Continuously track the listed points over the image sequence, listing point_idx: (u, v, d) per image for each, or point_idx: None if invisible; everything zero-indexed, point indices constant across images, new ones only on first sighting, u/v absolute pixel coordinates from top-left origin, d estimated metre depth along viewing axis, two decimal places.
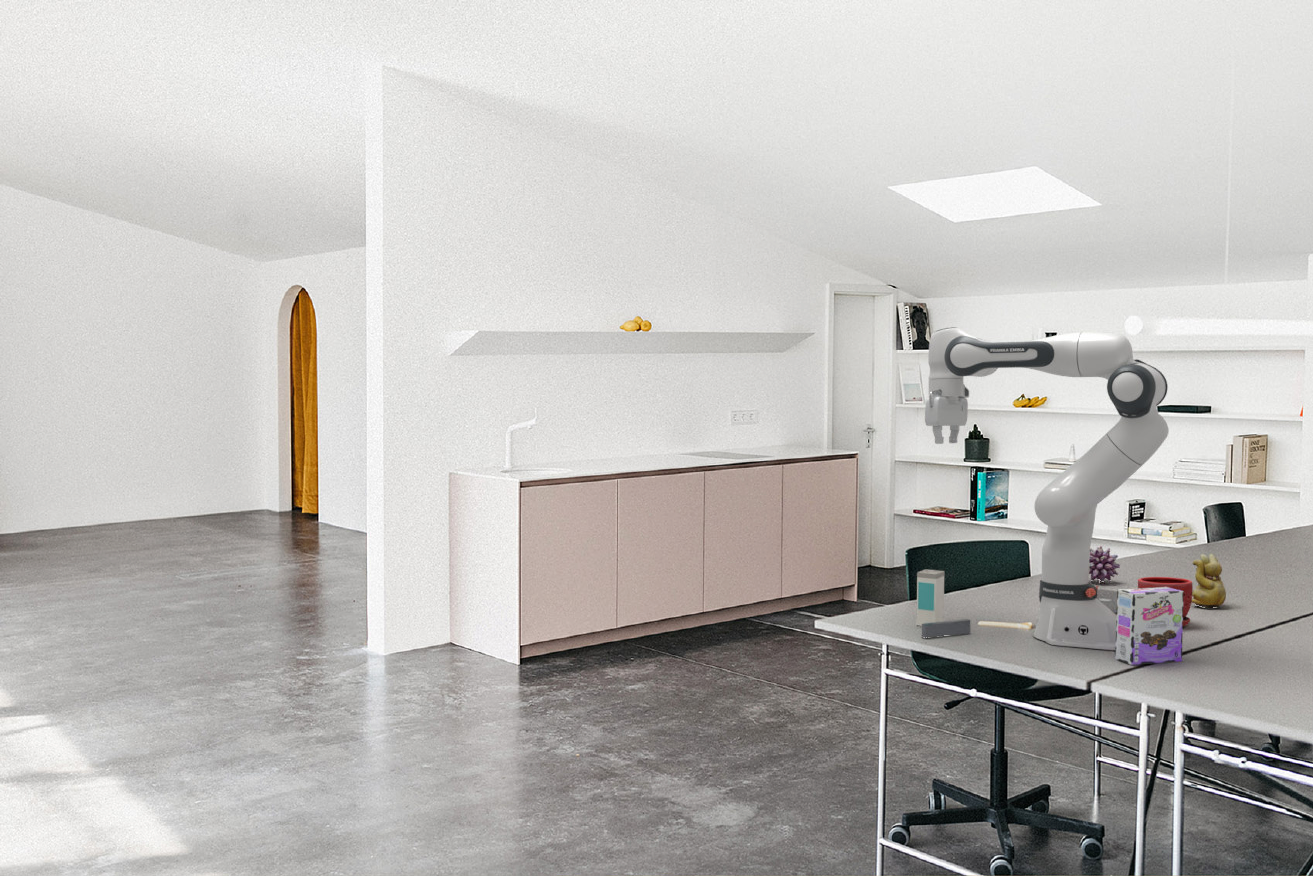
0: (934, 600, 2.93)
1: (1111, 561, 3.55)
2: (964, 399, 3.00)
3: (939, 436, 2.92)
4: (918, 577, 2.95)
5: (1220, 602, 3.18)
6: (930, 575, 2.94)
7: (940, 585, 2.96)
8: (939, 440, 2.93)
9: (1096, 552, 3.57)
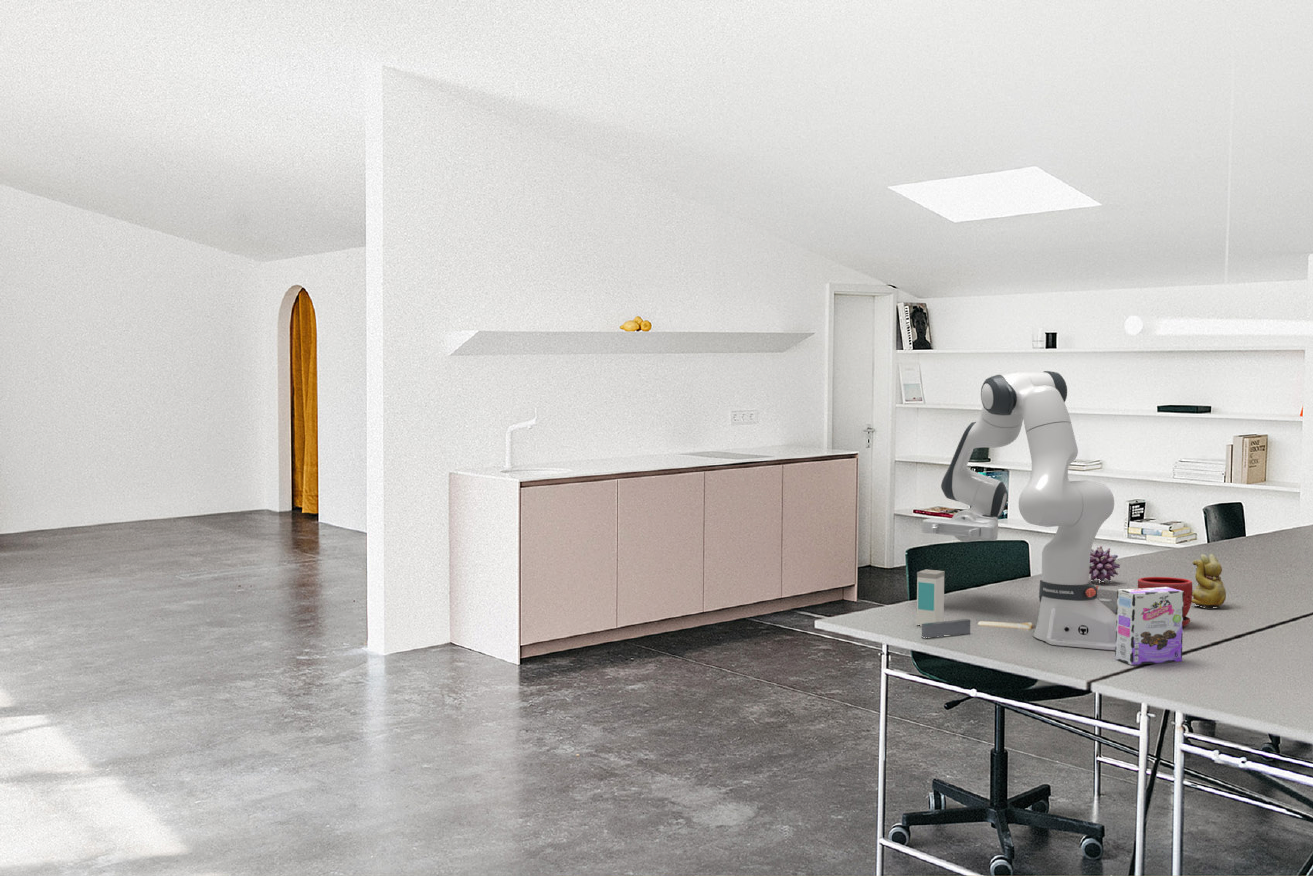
0: (934, 600, 2.93)
1: (1111, 561, 3.55)
2: (985, 518, 3.15)
3: None
4: (918, 577, 2.95)
5: (1220, 602, 3.18)
6: (930, 575, 2.94)
7: (940, 585, 2.96)
8: None
9: (1096, 552, 3.57)
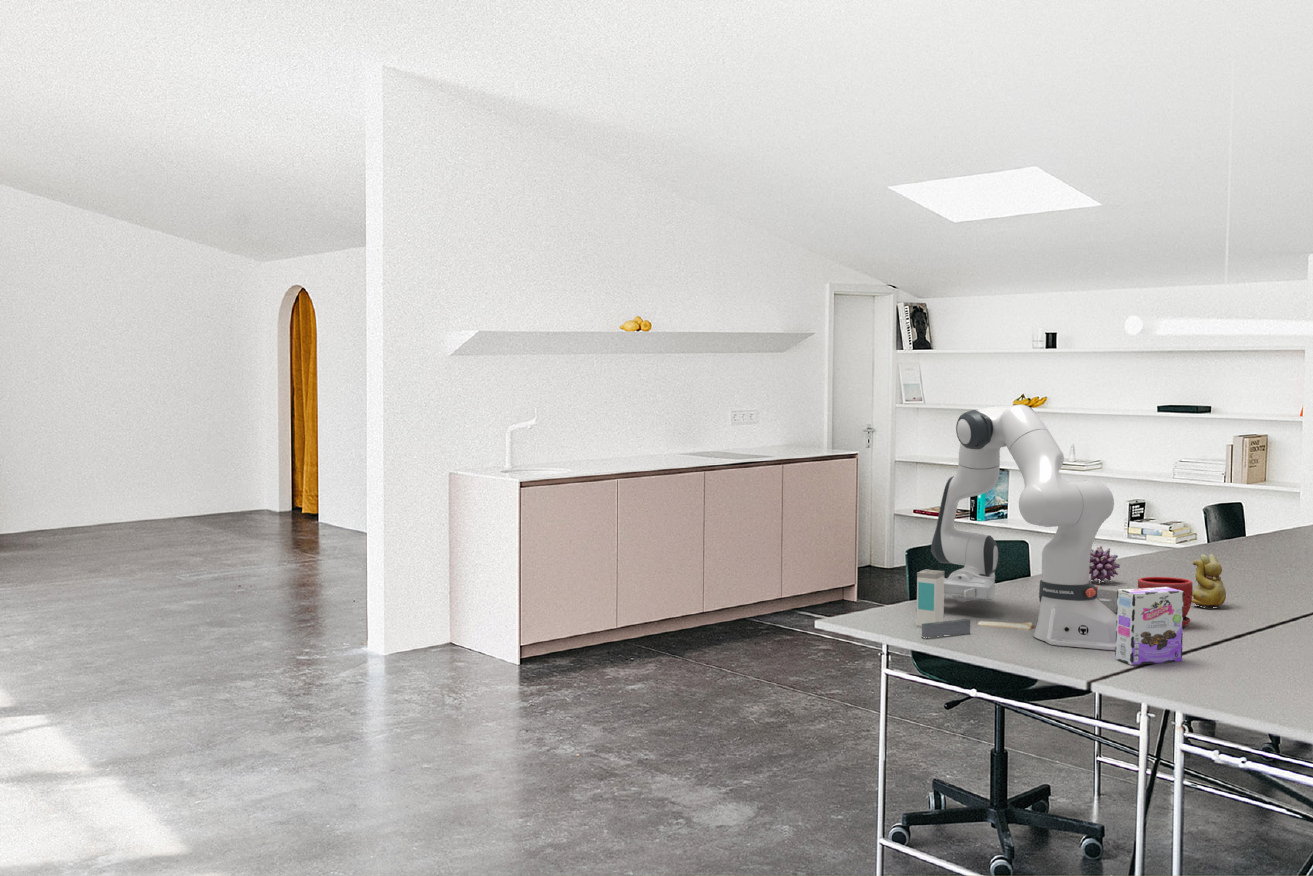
0: (934, 600, 2.93)
1: (1111, 561, 3.55)
2: (982, 578, 3.12)
3: None
4: (918, 577, 2.95)
5: (1220, 602, 3.18)
6: (930, 575, 2.94)
7: (940, 585, 2.96)
8: None
9: (1096, 552, 3.57)
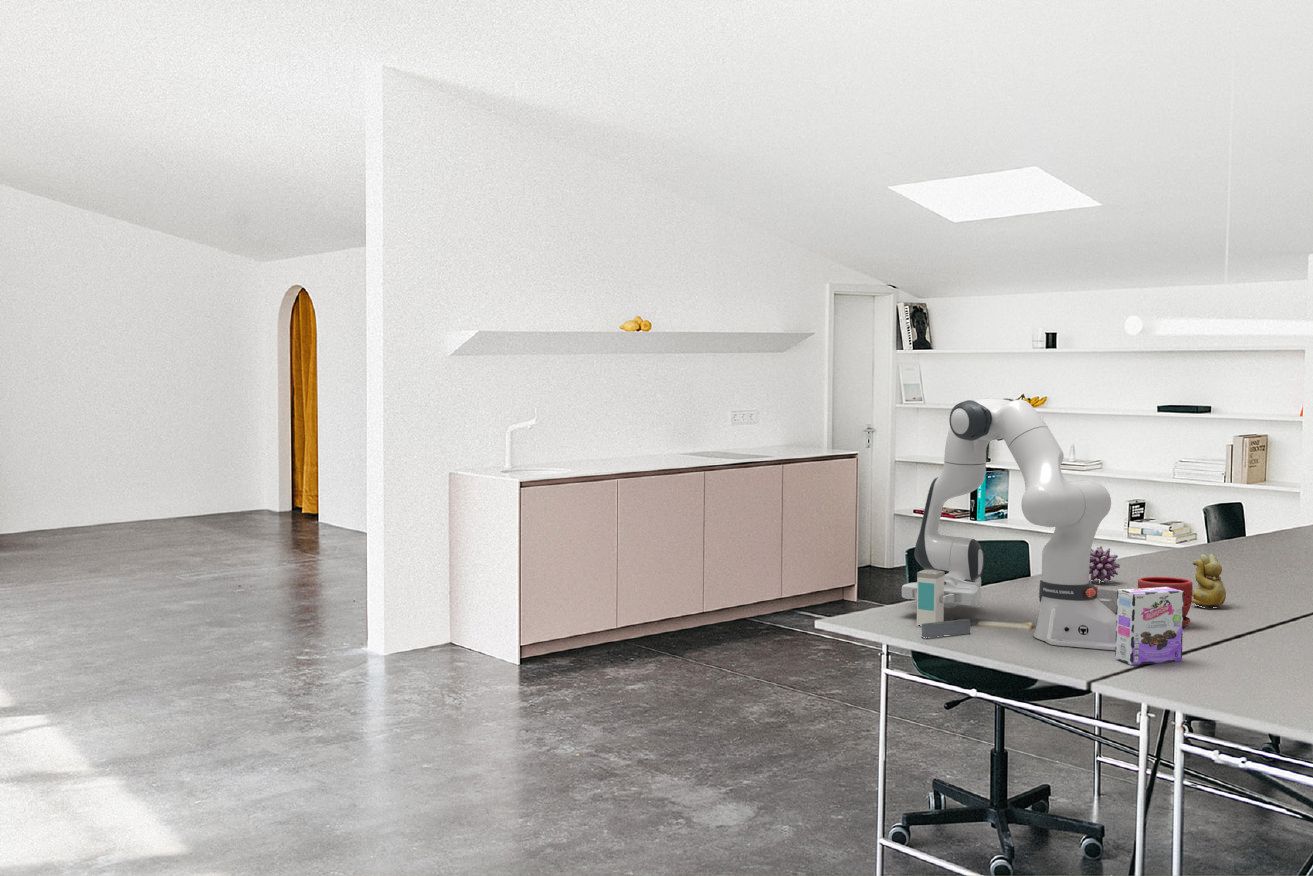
0: (934, 600, 2.93)
1: (1111, 561, 3.55)
2: (967, 584, 3.03)
3: None
4: (918, 577, 2.95)
5: (1220, 602, 3.18)
6: (930, 575, 2.94)
7: (940, 585, 2.96)
8: None
9: (1096, 552, 3.57)
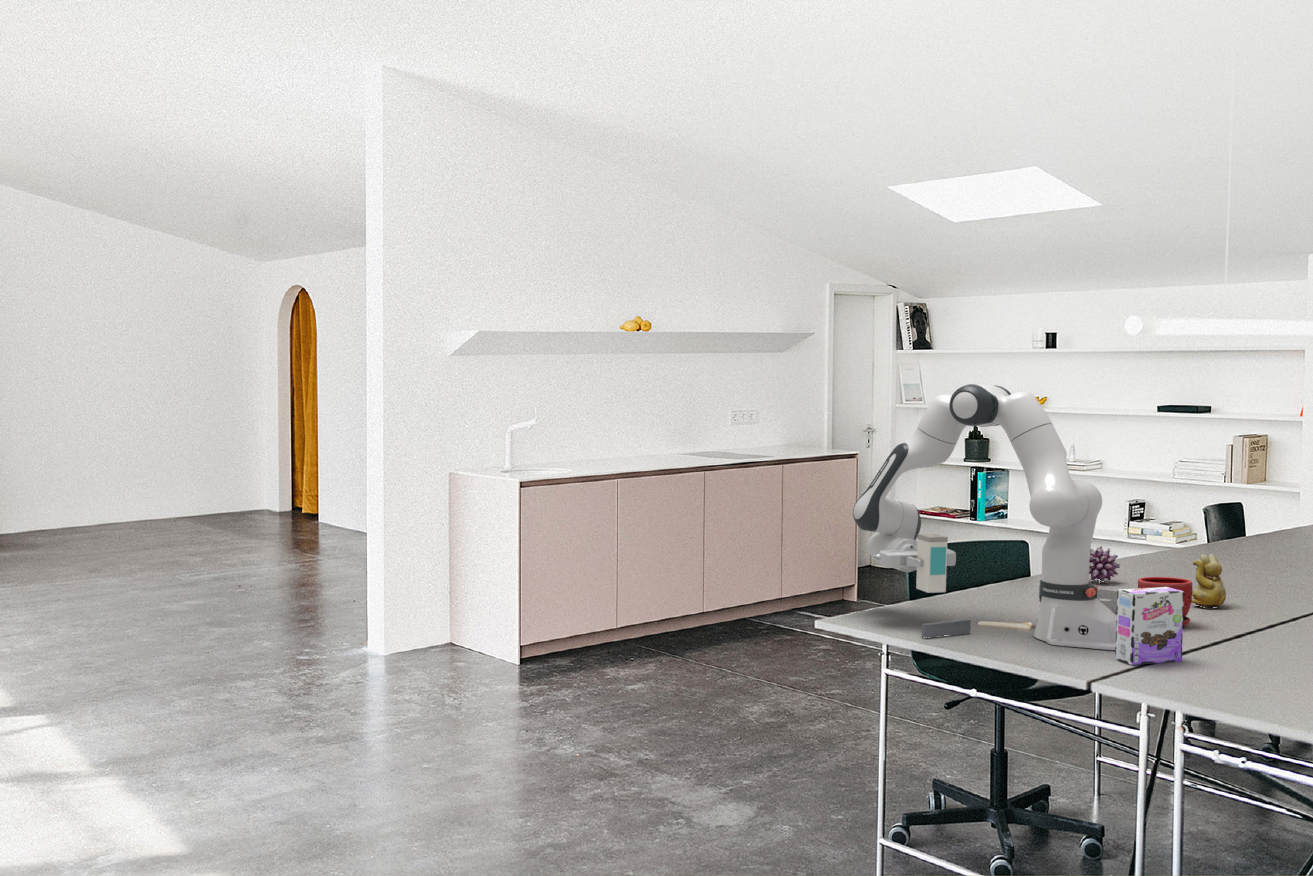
0: (945, 563, 2.88)
1: (1111, 561, 3.55)
2: None
3: (914, 560, 2.90)
4: (930, 542, 2.86)
5: (1220, 602, 3.18)
6: (942, 539, 2.87)
7: None
8: (917, 561, 2.90)
9: (1096, 552, 3.57)
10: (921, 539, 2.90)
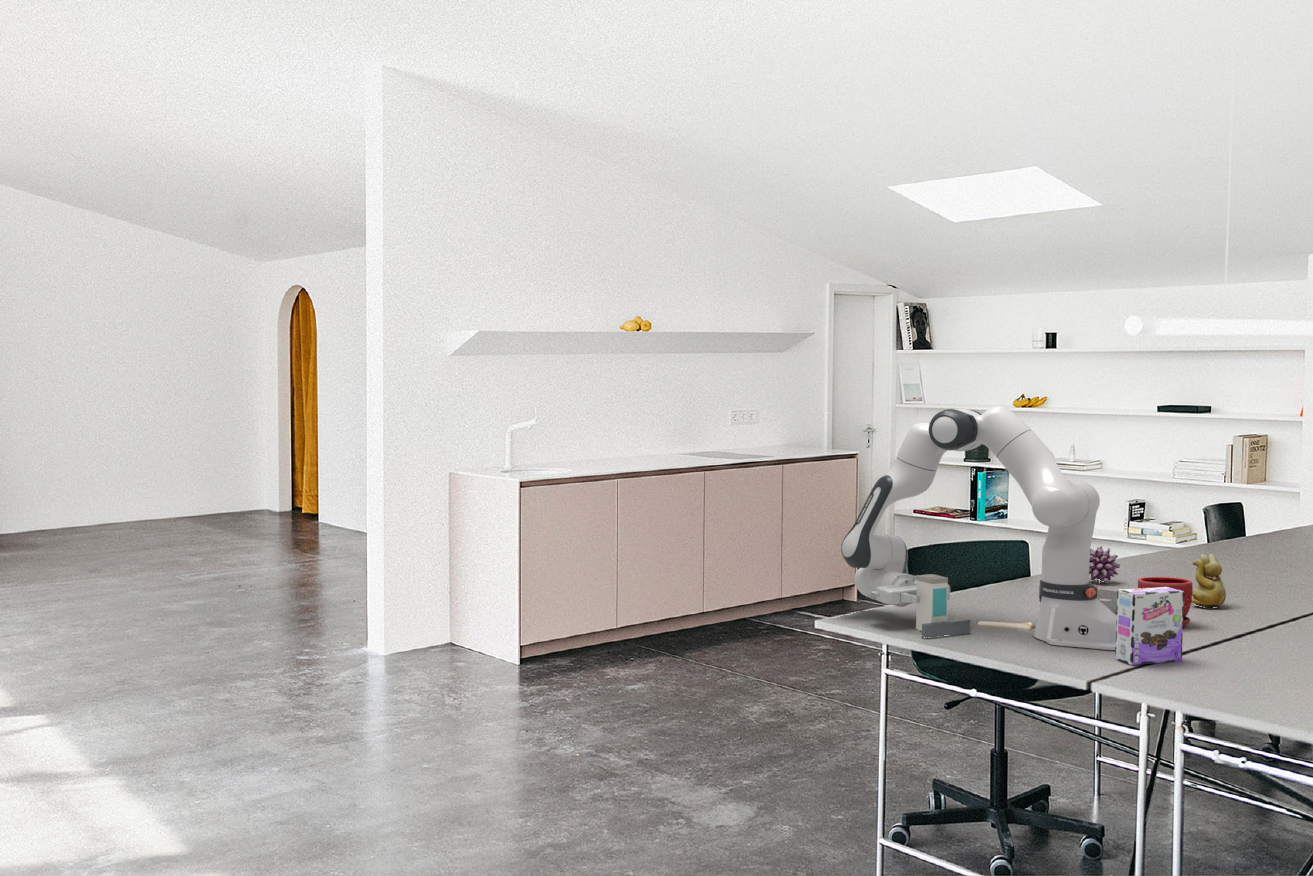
0: (946, 604, 2.88)
1: (1111, 561, 3.55)
2: None
3: (910, 597, 2.88)
4: (932, 584, 2.86)
5: (1220, 602, 3.18)
6: (943, 579, 2.87)
7: None
8: (913, 598, 2.88)
9: (1096, 552, 3.57)
10: (921, 580, 2.89)
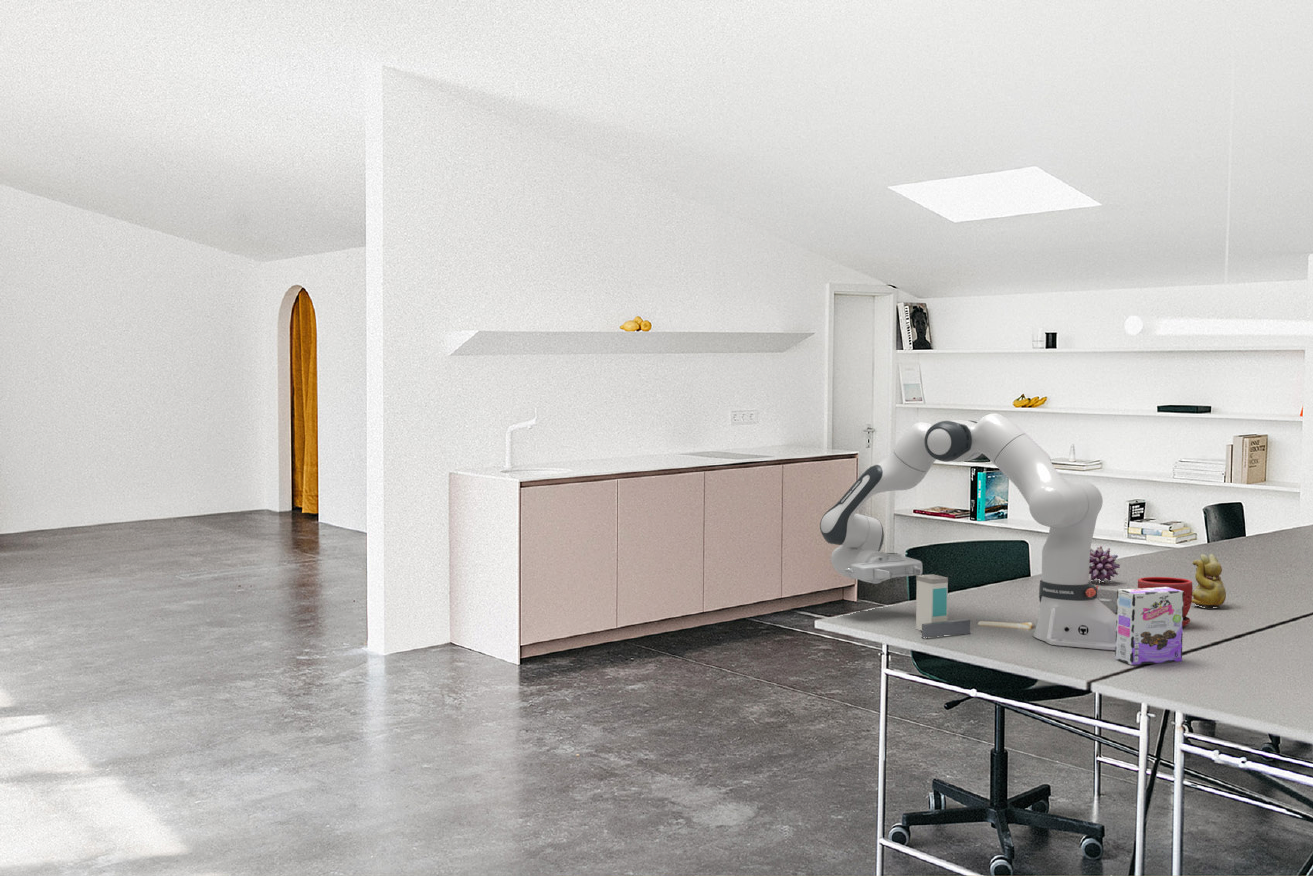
0: (946, 604, 2.88)
1: (1111, 561, 3.55)
2: (895, 556, 3.12)
3: (883, 572, 2.99)
4: (933, 584, 2.86)
5: (1220, 602, 3.18)
6: (943, 579, 2.87)
7: None
8: (886, 573, 2.98)
9: (1096, 552, 3.57)
10: (921, 580, 2.89)
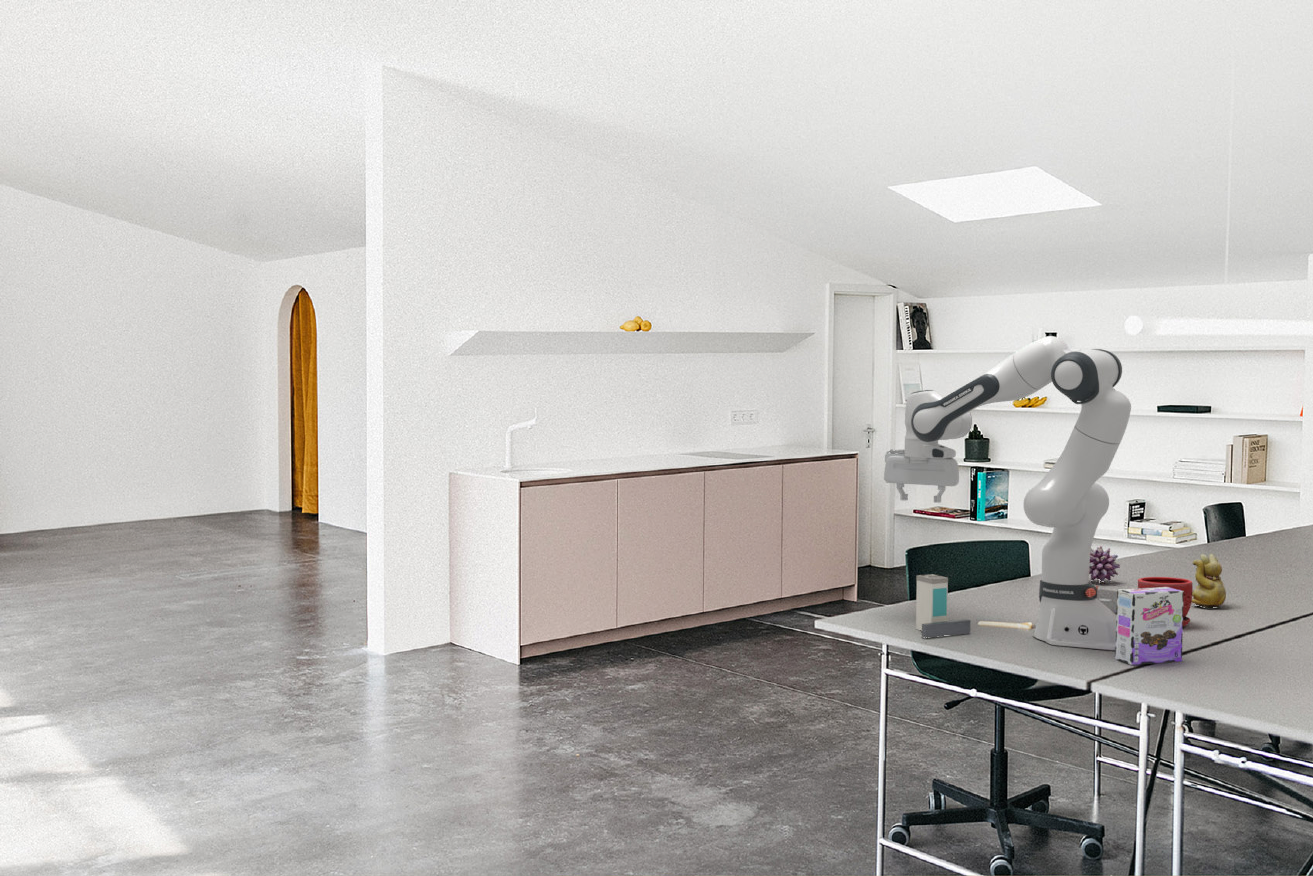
0: (946, 604, 2.88)
1: (1111, 561, 3.55)
2: (938, 460, 3.02)
3: None
4: (933, 584, 2.86)
5: (1220, 602, 3.18)
6: (943, 580, 2.87)
7: None
8: None
9: (1096, 552, 3.57)
10: (921, 580, 2.89)
